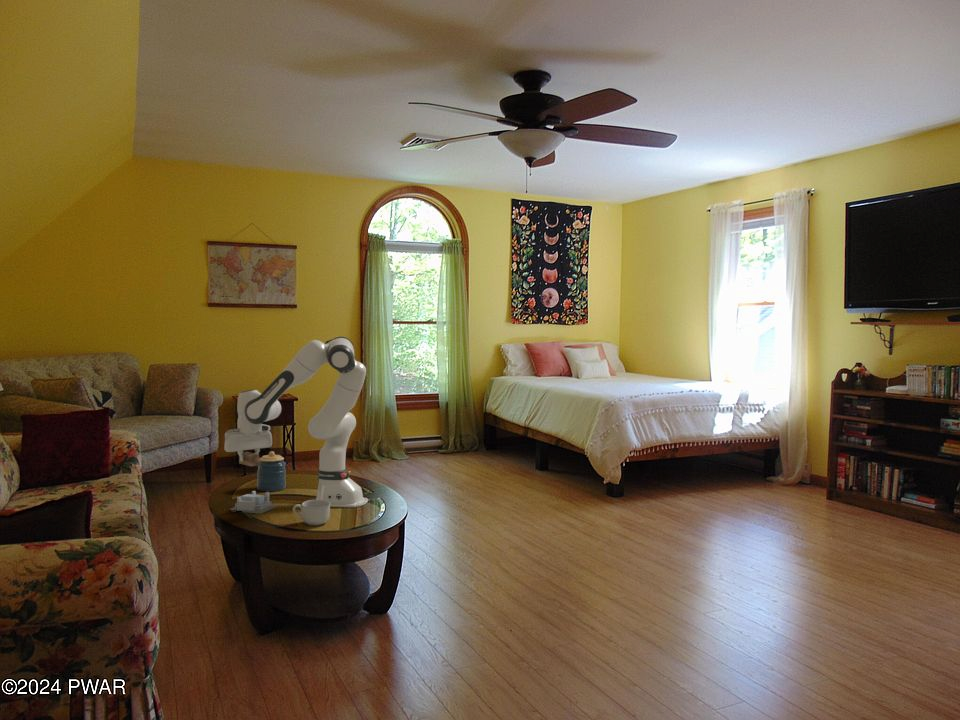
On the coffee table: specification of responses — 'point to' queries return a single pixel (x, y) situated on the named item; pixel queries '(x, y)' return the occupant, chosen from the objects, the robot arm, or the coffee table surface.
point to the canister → (271, 473)
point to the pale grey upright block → (258, 498)
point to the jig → (253, 505)
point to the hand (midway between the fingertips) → (248, 460)
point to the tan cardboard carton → (250, 459)
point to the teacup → (314, 511)
